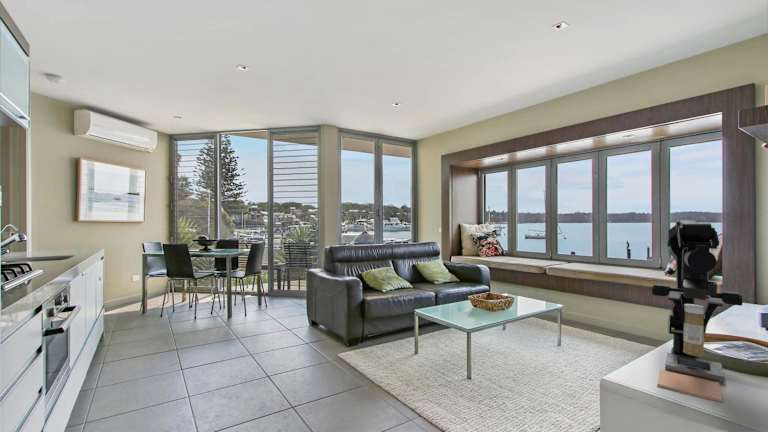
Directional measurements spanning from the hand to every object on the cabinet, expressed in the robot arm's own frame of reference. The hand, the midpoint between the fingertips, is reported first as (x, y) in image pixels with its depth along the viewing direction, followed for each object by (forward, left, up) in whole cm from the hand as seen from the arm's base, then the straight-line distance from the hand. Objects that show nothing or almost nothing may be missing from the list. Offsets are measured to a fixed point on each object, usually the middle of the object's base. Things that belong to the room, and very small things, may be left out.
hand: (693, 324), depth 102 cm
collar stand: (-1, 0, -13) cm, 13 cm away
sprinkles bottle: (0, 0, -8) cm, 8 cm away
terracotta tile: (+12, -1, -13) cm, 18 cm away
